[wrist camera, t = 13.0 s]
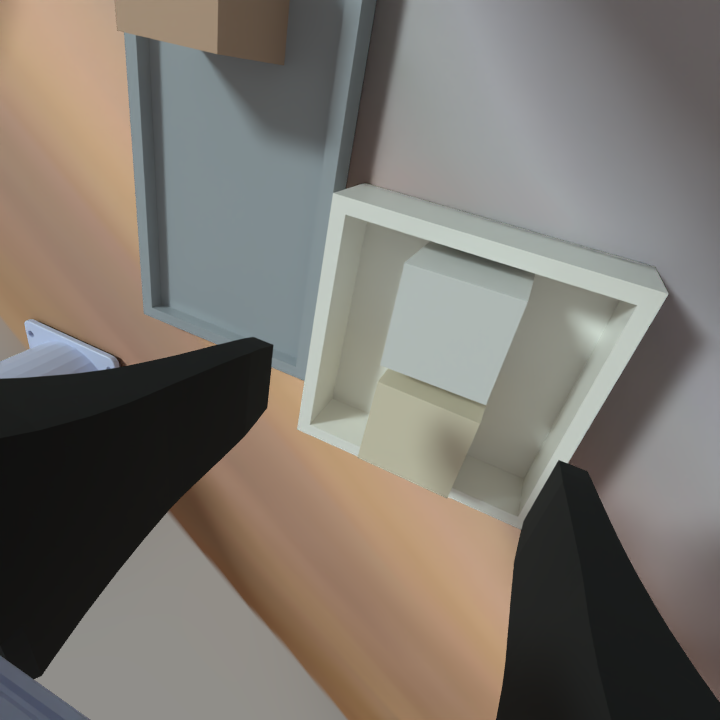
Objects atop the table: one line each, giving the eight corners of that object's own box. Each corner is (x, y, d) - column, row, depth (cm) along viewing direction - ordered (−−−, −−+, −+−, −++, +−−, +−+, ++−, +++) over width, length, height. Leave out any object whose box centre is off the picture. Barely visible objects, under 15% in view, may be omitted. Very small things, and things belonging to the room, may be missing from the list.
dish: (532, 486, 22) (527, 532, 20) (325, 398, 25) (297, 429, 22) (654, 266, 16) (668, 294, 14) (364, 182, 19) (332, 193, 16)
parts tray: (315, 370, 24) (304, 380, 23) (159, 306, 27) (143, 313, 26) (393, -102, 15) (380, -118, 14) (138, -134, 17) (111, -149, 16)
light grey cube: (501, 356, 19) (485, 405, 16) (411, 325, 20) (380, 365, 17) (537, 266, 17) (527, 301, 14) (435, 236, 18) (404, 262, 15)
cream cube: (466, 441, 22) (447, 498, 19) (389, 408, 23) (357, 457, 19) (496, 372, 20) (480, 423, 16) (409, 339, 21) (377, 381, 17)
